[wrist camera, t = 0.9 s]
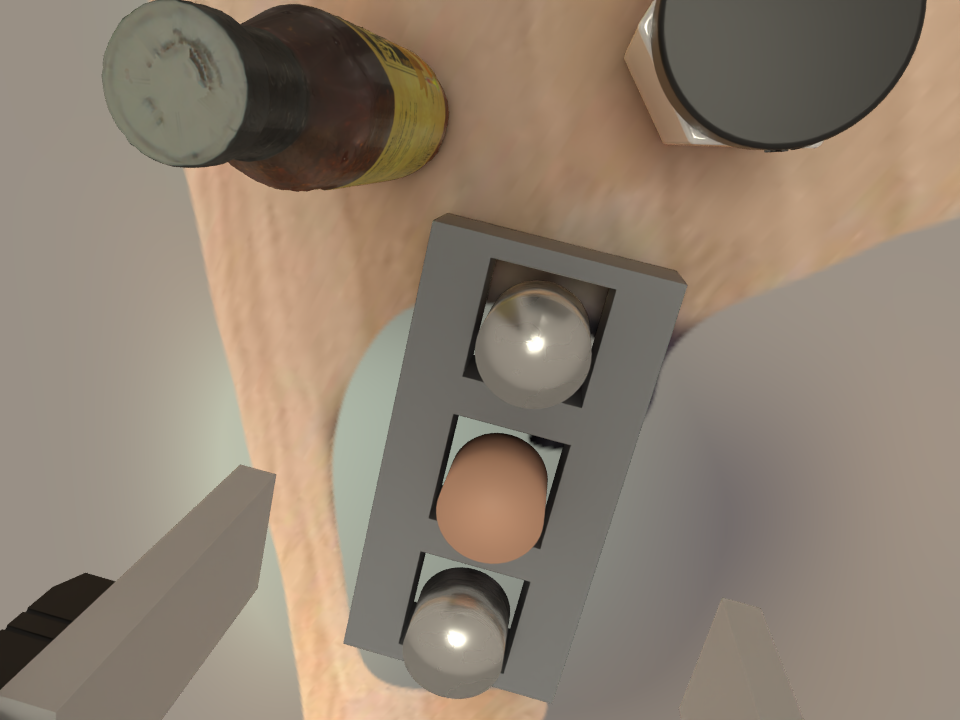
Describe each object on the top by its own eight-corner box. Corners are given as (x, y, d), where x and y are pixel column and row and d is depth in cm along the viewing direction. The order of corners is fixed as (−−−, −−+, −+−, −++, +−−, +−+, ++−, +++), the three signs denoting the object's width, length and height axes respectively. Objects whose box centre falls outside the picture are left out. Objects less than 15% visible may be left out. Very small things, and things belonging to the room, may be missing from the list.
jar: (733, 190, 36) (804, 210, 25) (593, 97, 36) (600, 74, 24) (858, 18, 34) (1002, -49, 22) (708, -84, 33) (775, -205, 22)
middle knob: (462, 422, 38) (448, 453, 34) (558, 447, 37) (556, 482, 33) (441, 508, 39) (426, 547, 35) (533, 533, 39) (528, 575, 35)
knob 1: (429, 556, 40) (413, 600, 36) (519, 582, 40) (513, 628, 36) (410, 633, 41) (393, 682, 38) (497, 658, 41) (489, 710, 37)
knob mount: (447, 213, 38) (432, 220, 34) (676, 270, 38) (687, 285, 34) (363, 601, 45) (343, 643, 42) (554, 656, 45) (552, 703, 41)
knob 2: (499, 268, 35) (489, 283, 31) (602, 295, 35) (605, 313, 31) (475, 366, 37) (463, 392, 33) (574, 392, 36) (573, 421, 33)
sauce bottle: (456, 52, 36) (319, -52, 17) (448, 184, 38) (317, 221, 19) (325, 43, 37) (55, -65, 18) (323, 173, 39) (76, 200, 20)
